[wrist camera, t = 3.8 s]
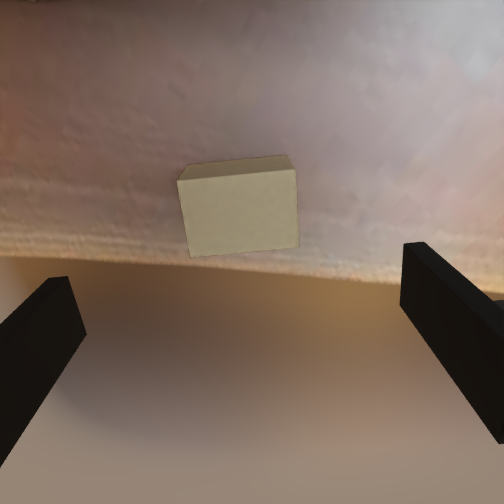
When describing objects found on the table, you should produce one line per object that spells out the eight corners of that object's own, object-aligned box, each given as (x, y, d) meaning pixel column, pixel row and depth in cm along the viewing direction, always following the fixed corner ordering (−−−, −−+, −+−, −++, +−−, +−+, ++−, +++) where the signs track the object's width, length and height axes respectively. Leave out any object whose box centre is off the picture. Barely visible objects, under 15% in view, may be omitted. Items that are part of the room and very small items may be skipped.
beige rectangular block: (198, 230, 29) (189, 257, 24) (188, 164, 27) (176, 180, 22) (290, 221, 28) (299, 247, 24) (287, 154, 26) (295, 168, 22)
